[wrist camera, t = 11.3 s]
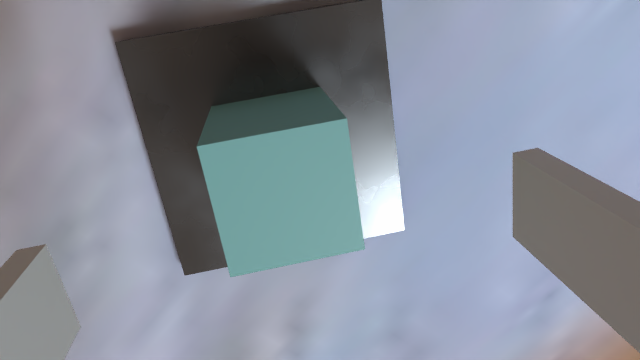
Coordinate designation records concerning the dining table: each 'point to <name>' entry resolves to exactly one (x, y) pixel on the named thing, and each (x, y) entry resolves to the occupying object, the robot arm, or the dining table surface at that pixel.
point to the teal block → (281, 180)
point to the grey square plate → (255, 82)
